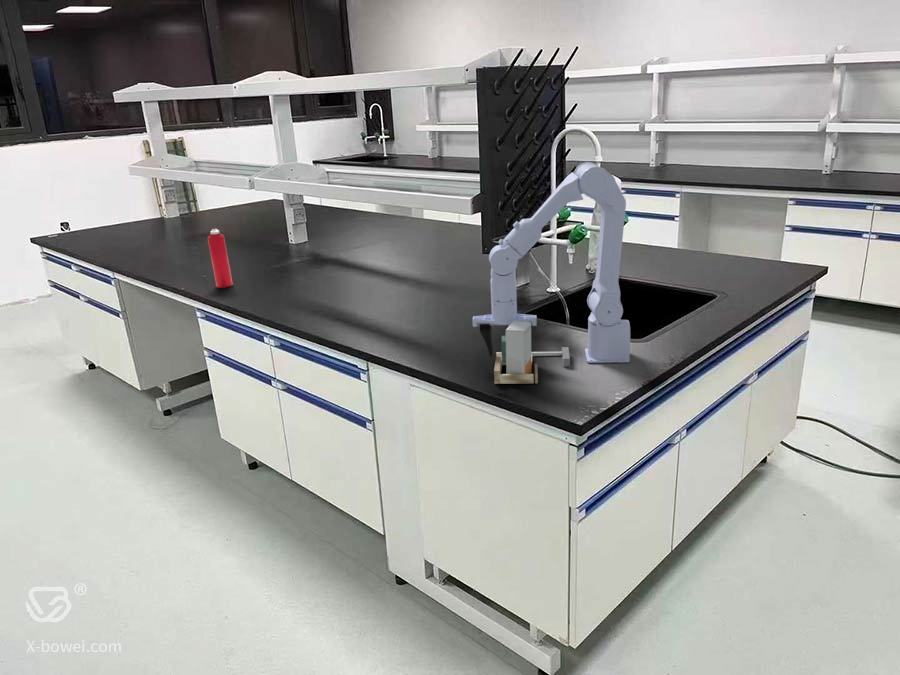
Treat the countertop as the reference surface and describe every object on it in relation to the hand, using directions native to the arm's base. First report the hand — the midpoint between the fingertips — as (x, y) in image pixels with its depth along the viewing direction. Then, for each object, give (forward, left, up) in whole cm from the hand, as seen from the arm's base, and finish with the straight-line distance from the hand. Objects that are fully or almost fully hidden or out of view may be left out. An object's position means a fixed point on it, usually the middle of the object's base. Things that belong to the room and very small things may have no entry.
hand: (505, 354), depth 157 cm
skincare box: (-3, +8, -2) cm, 9 cm away
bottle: (+100, -70, -2) cm, 123 cm away
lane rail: (-6, 0, -2) cm, 6 cm away
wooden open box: (-3, +5, -2) cm, 6 cm away
